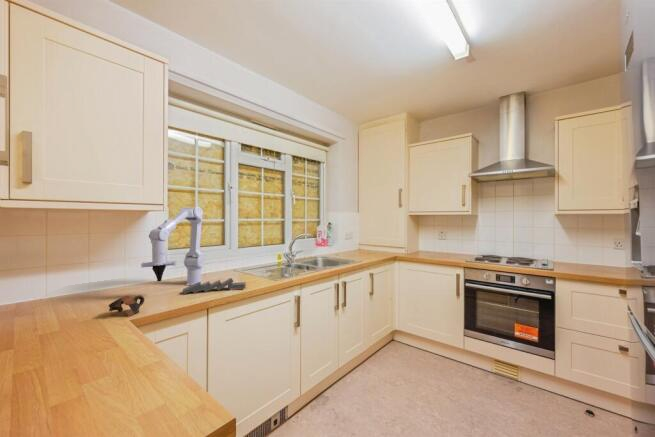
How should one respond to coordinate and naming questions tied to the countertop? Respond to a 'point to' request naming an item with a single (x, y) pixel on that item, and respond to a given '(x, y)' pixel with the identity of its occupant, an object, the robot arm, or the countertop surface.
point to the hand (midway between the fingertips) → (159, 280)
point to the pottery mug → (127, 301)
